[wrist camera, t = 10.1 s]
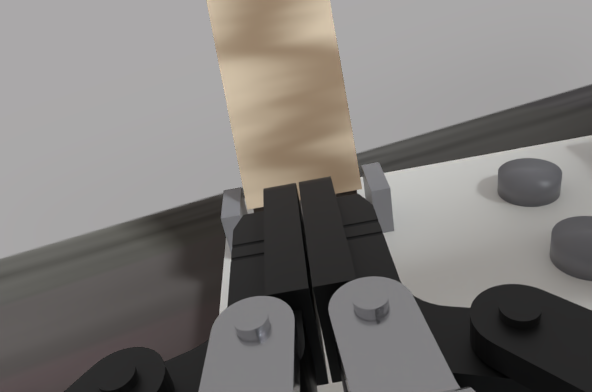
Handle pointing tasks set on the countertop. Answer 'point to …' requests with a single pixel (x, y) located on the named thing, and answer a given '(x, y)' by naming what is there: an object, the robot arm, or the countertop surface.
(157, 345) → the countertop surface
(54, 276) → the countertop surface
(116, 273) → the countertop surface
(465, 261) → the panel
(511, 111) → the countertop surface
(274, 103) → the brown long rectangular block
